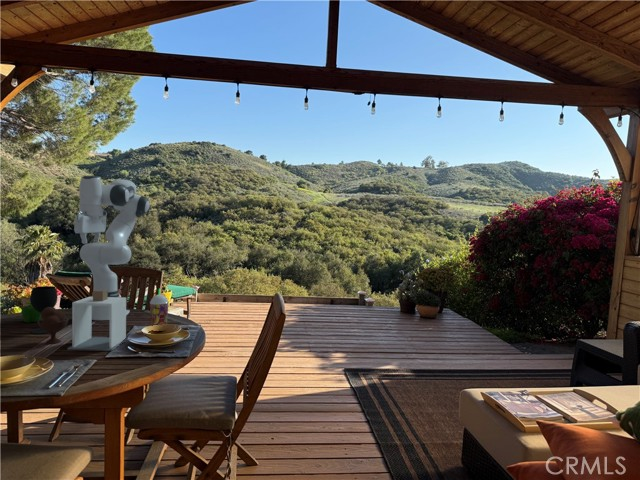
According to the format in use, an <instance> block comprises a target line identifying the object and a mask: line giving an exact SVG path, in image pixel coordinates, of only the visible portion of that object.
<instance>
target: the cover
mask: <svg viewBox="0 0 640 480" xmlns="http://www.w3.org/2000/svg"><path fill="white" fill-rule="evenodd" d="M92 294H93V295H92V296H88V297H85V298H82V299H79V300H76V301H73V302H72V304H71V305H72V306H71V308H72V311H71V312H72V313H71V315H72V317H71V319H72V328H71V330H72V332H71V334H72V335H71V337H72V339H71V341H72V342H71V343H72V345H71V346H72V347H75V346H77V345H79V344H81V343H83V342H85V341H87V340H88V339H90V338H91V337H92V306H110V320H109V331H108V332H109V335H108V336H109V348H112V347H114V346H115V345H117V344H119V343H120V342H122V341H123V340H124V339H125V338H127V315H126V310H127V297H120V296H119V297H108V290H95V291H94V290H93V291H92Z"/></svg>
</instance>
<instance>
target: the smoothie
mask: <svg viewBox="0 0 640 480" xmlns="http://www.w3.org/2000/svg"><path fill="white" fill-rule="evenodd" d="M169 302H170V301H169V300H168V297H167V296H165V295H164V294H161V288H158V294H155V295H154V296H152V298H151V300H150V301H149V308H150V309H149V311H150V327H151V326H153V325H162V324H167V325H168V316H169V314H168V313H169Z"/></svg>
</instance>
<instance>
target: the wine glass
mask: <svg viewBox="0 0 640 480" xmlns="http://www.w3.org/2000/svg"><path fill="white" fill-rule="evenodd" d="M57 292H58V291H57V288H56V286H54V285H53V286H52V285H47V286H45V285H43V286H34V287H32V288H31V292H30V297H29V298H30V299H29V302H31V305H32V307H33V308H34V309H35V310H36V311H38V312H40V313H41V312H42V311H43V310H44V309H45V308H47V307H54V308H55V306H56V305H57V302H58V293H57ZM30 334H32V335H45V334H48V333H47V332H45V331H43V330H42V329H41V328H40V327H38V328H34V329H31V330H30Z"/></svg>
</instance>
